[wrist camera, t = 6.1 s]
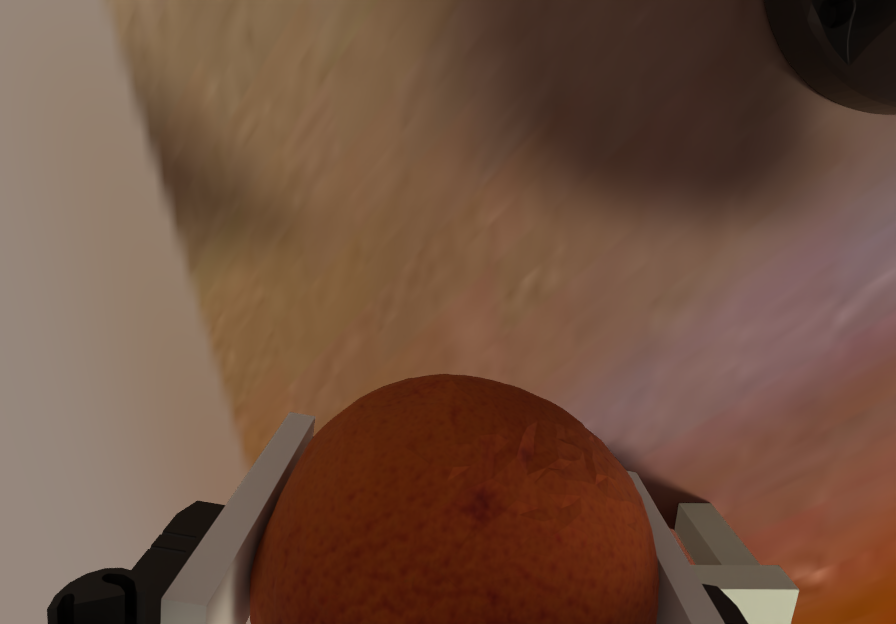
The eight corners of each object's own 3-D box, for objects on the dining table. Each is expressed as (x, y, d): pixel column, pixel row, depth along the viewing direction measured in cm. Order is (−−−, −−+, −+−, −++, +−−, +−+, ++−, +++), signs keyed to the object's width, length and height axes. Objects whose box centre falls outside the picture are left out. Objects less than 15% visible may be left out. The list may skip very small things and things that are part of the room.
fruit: (273, 529, 16) (100, 866, 8) (380, 287, 14) (278, 442, 6) (517, 624, 17) (566, 1009, 9) (656, 413, 15) (880, 690, 7)
